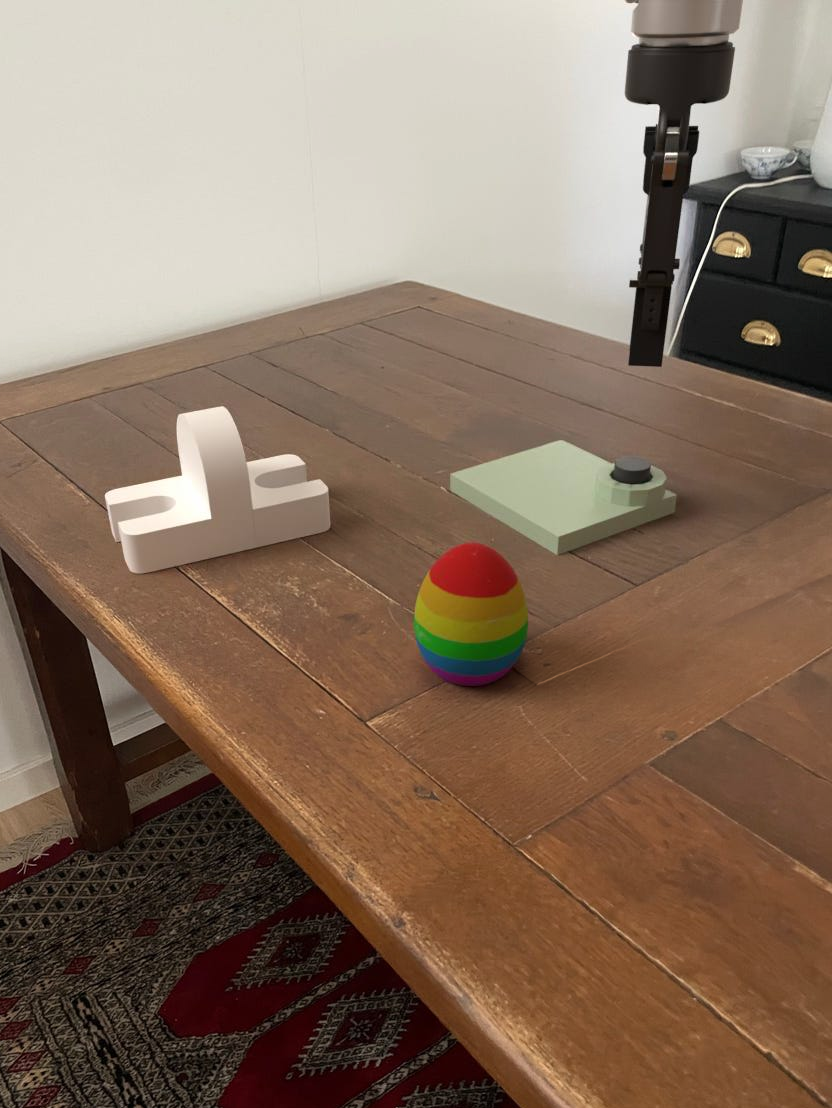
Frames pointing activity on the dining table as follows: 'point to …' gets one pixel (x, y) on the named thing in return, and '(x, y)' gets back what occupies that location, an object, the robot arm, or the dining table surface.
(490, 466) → the scale
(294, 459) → the bracket
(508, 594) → the decorative egg
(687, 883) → the dining table surface
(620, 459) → the button
